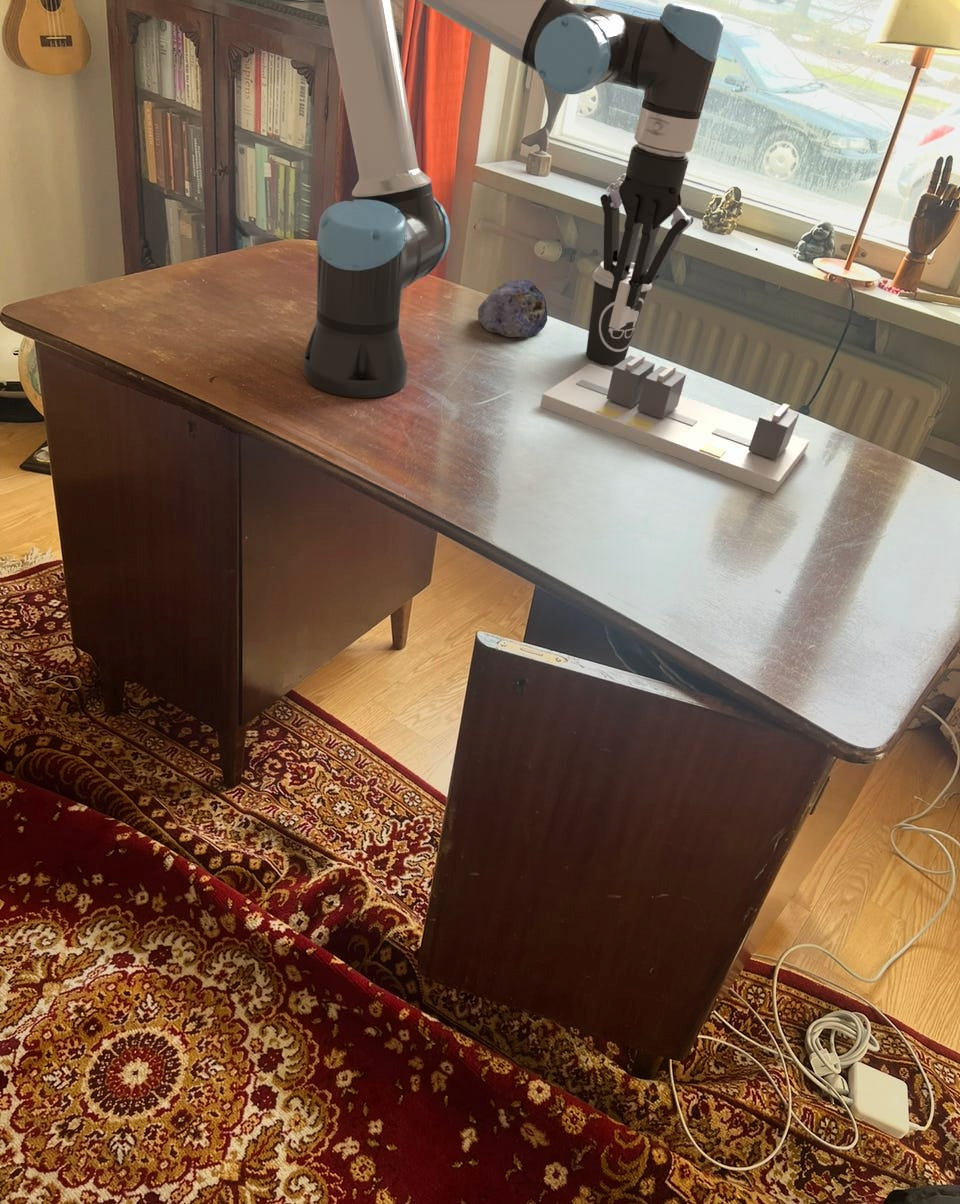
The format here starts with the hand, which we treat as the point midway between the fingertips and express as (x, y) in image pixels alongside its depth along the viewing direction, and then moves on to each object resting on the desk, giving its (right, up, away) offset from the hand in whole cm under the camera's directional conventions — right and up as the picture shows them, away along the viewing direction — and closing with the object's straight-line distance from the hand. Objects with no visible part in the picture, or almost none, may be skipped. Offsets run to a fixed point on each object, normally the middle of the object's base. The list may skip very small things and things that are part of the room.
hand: (617, 325), depth 132 cm
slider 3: (+21, -18, -3) cm, 28 cm away
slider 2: (+6, -11, +3) cm, 13 cm away
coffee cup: (+1, +1, +22) cm, 22 cm away
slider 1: (+2, -9, +5) cm, 11 cm away
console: (+9, -14, +3) cm, 17 cm away
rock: (-15, +7, +27) cm, 32 cm away
